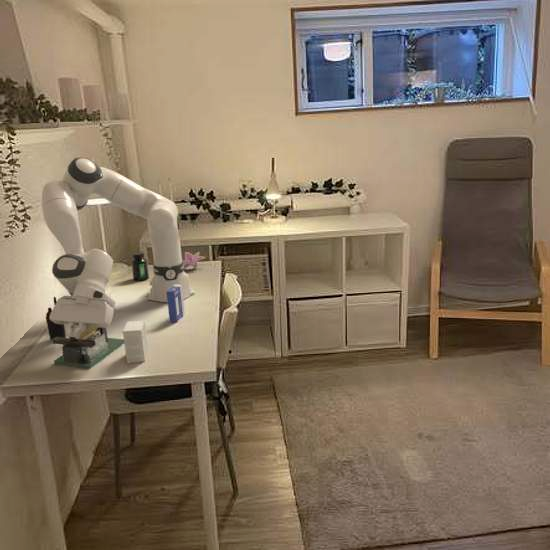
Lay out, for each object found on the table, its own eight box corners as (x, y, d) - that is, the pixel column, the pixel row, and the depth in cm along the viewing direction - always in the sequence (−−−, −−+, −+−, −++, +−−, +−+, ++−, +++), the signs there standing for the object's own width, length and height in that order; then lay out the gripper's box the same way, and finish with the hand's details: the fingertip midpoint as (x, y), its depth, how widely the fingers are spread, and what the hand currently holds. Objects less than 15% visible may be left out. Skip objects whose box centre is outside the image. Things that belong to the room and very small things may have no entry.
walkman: (177, 322, 201) (173, 290, 198) (169, 322, 202) (166, 290, 198) (185, 314, 209) (182, 283, 205) (178, 314, 209) (175, 283, 206)
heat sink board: (91, 339, 190) (88, 316, 188) (125, 342, 186) (121, 319, 184) (54, 364, 173) (49, 339, 171) (90, 368, 169) (86, 343, 167)
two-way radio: (67, 336, 194) (60, 295, 190) (65, 341, 190) (57, 299, 186) (50, 337, 193) (43, 296, 189) (47, 342, 189) (40, 300, 185)
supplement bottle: (146, 281, 250) (143, 255, 246) (131, 281, 250) (128, 255, 247) (150, 276, 256) (147, 251, 253) (135, 277, 257) (132, 251, 253)
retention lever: (76, 323, 183) (52, 339, 172) (113, 326, 179) (90, 343, 168) (77, 327, 184) (53, 343, 173) (114, 330, 179) (91, 347, 168)
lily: (210, 269, 267) (203, 250, 268) (205, 266, 255) (198, 247, 256) (186, 278, 267) (180, 259, 268) (180, 276, 256) (173, 256, 257)
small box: (131, 352, 179) (126, 321, 176) (148, 350, 179) (145, 320, 176) (126, 363, 172) (122, 331, 168) (145, 361, 172) (141, 330, 169)
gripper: (54, 291, 177) (38, 331, 171) (110, 294, 171) (96, 336, 165) (65, 299, 183) (50, 339, 177) (120, 303, 177) (106, 344, 171)
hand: (73, 338), depth 171 cm, fingers closed, pressing on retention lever
